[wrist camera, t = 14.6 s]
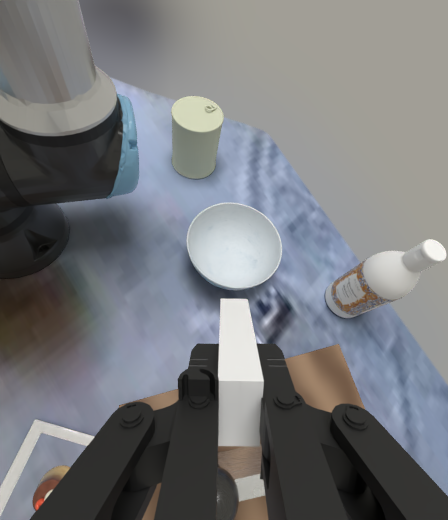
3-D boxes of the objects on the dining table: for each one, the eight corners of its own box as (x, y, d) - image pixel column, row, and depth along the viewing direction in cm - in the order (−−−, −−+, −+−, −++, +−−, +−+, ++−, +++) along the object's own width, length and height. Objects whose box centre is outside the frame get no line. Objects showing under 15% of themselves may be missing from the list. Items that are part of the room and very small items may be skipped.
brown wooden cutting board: (151, 716, 27) (149, 737, 25) (120, 404, 37) (118, 405, 36) (420, 564, 35) (432, 573, 34) (333, 345, 46) (339, 343, 44)
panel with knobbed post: (184, 489, 33) (190, 553, 20) (182, 445, 35) (186, 479, 22) (332, 456, 37) (416, 492, 24) (322, 419, 39) (396, 434, 26)
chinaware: (250, 318, 45) (263, 305, 39) (169, 279, 46) (168, 260, 39) (277, 247, 52) (293, 226, 45) (206, 215, 53) (211, 188, 46)
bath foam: (318, 284, 50) (397, 226, 32) (351, 279, 52) (444, 222, 34) (331, 321, 48) (425, 281, 30) (365, 315, 49) (474, 273, 31)
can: (224, 167, 59) (235, 118, 48) (189, 186, 55) (192, 137, 44) (198, 140, 61) (202, 87, 50) (162, 156, 57) (160, 102, 47)
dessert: (-23, 538, 30) (-55, 562, 26) (38, 418, 36) (20, 421, 32) (82, 567, 31) (67, 596, 26) (127, 444, 36) (120, 451, 32)
